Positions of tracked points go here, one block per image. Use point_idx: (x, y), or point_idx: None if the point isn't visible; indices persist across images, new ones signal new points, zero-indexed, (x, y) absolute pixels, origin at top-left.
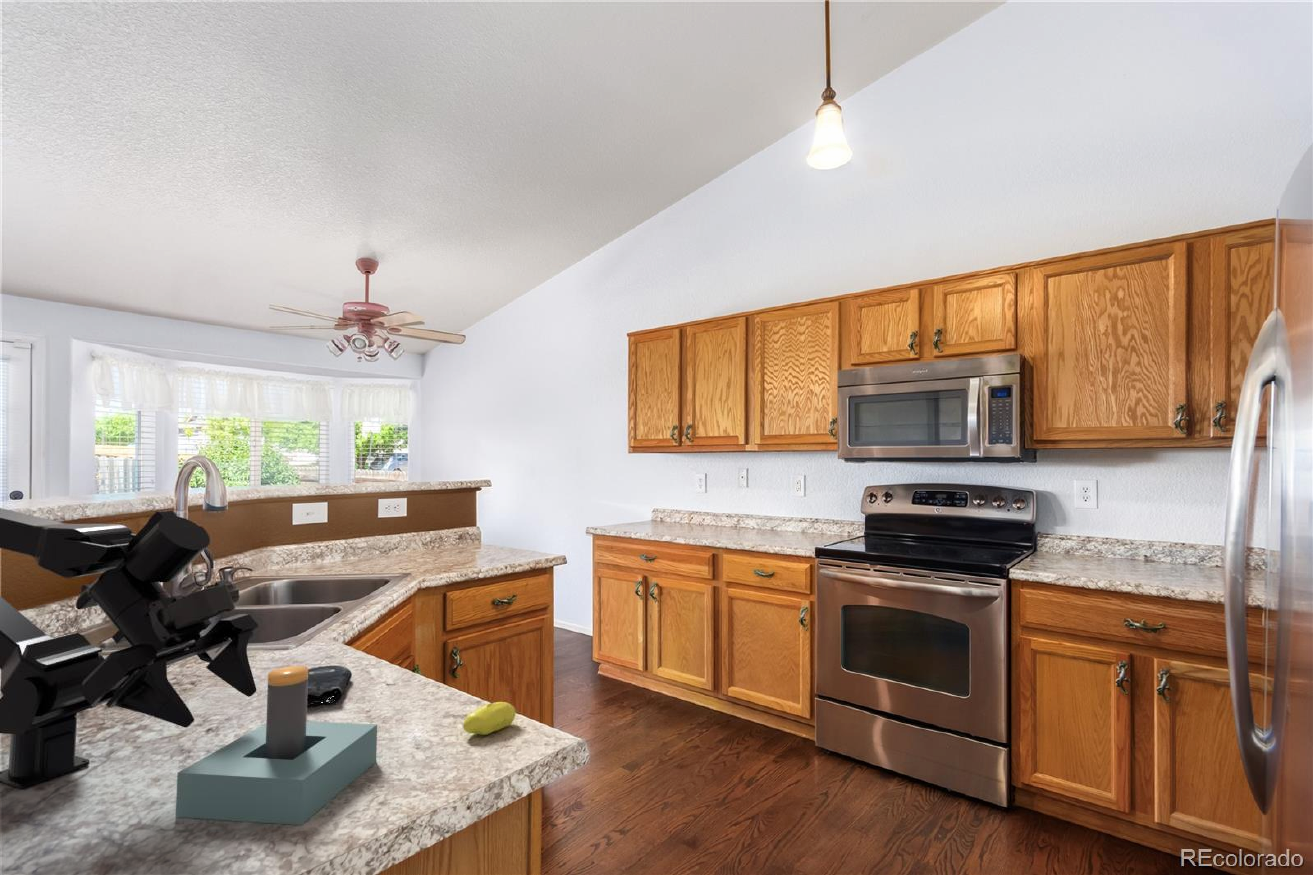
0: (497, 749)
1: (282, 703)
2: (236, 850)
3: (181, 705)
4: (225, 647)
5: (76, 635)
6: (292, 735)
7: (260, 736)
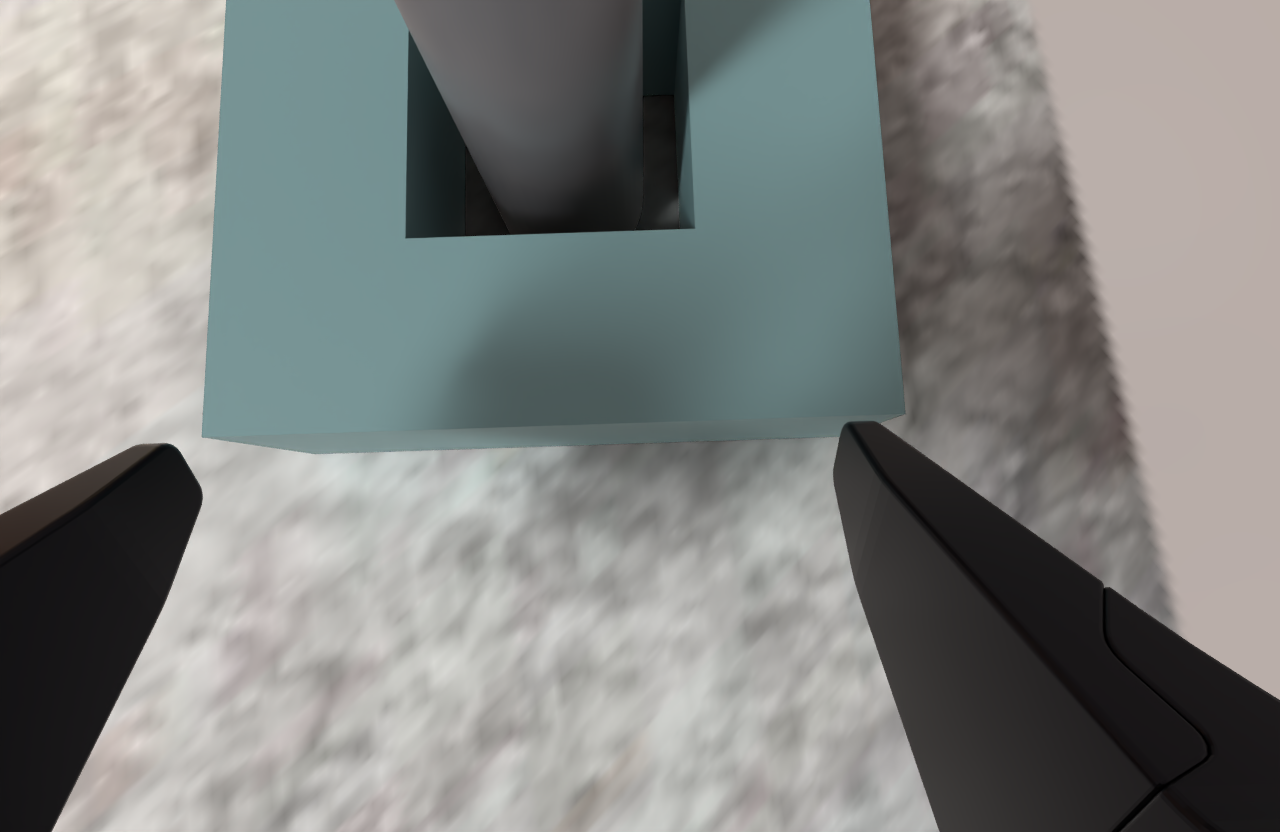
0: None
1: None
2: (969, 65)
3: (954, 509)
4: None
5: None
6: None
7: (443, 325)
